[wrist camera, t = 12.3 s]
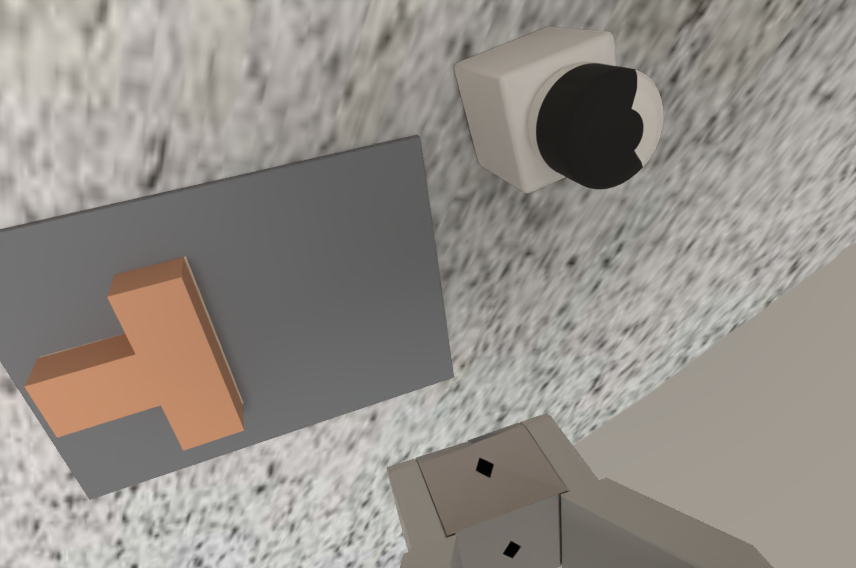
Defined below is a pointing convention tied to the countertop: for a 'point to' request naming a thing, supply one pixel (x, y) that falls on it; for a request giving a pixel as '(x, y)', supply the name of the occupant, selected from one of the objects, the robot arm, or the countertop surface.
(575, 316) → the countertop surface
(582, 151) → the medicine bottle
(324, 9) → the countertop surface
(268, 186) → the board
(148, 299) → the t block
